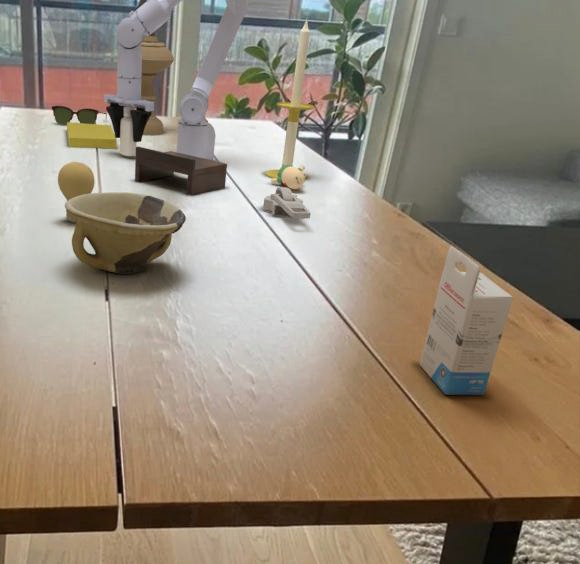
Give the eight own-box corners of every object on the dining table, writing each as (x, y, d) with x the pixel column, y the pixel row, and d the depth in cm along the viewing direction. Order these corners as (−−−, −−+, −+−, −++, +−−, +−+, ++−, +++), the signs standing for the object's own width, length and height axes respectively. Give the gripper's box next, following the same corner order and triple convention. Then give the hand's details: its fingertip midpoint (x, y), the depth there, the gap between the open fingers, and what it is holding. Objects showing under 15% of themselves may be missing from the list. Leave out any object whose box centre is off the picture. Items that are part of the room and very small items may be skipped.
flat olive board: (116, 148, 199) (110, 132, 219) (116, 139, 198) (110, 124, 217) (69, 146, 197) (67, 130, 217) (69, 137, 196) (66, 122, 216)
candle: (259, 176, 181) (278, 16, 163) (271, 169, 189) (290, 15, 171) (300, 182, 178) (324, 20, 160) (311, 174, 186) (334, 19, 168)
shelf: (169, 174, 177) (171, 141, 173) (225, 187, 169) (228, 153, 165) (134, 180, 169) (135, 146, 165) (190, 195, 161) (193, 159, 157)
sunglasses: (50, 123, 224) (50, 105, 222) (65, 121, 237) (65, 103, 235) (98, 128, 223) (99, 109, 220) (110, 125, 236) (111, 107, 233)
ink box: (485, 396, 88) (525, 269, 79) (443, 396, 87) (479, 268, 79) (456, 365, 95) (490, 245, 87) (417, 364, 94) (448, 243, 86)
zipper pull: (279, 229, 142) (282, 205, 140) (258, 205, 157) (261, 183, 155) (320, 230, 143) (323, 207, 141) (296, 206, 158) (299, 184, 156)
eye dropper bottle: (137, 152, 193) (139, 100, 186) (135, 157, 188) (136, 103, 181) (120, 151, 193) (121, 98, 186) (117, 155, 188) (118, 101, 181)
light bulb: (100, 220, 140) (101, 162, 135) (82, 227, 135) (82, 167, 130) (70, 214, 142) (69, 157, 137) (52, 221, 137) (50, 162, 132)
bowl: (93, 294, 108) (93, 225, 103) (49, 255, 121) (47, 192, 116) (202, 281, 115) (207, 216, 110) (150, 247, 128) (152, 187, 123)
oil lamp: (117, 125, 229) (120, -35, 207) (167, 128, 231) (175, -31, 209) (120, 134, 216) (123, -36, 194) (172, 137, 218) (181, -31, 196)
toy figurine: (270, 190, 179) (283, 199, 168) (264, 171, 176) (277, 179, 166) (303, 175, 178) (318, 183, 168) (297, 156, 176) (312, 163, 165)
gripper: (95, 74, 182) (95, 136, 189) (140, 82, 175) (138, 146, 182) (116, 73, 187) (115, 133, 194) (161, 80, 179) (158, 143, 187)
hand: (128, 139), depth 188 cm, fingers closed on eye dropper bottle, 5 cm apart
